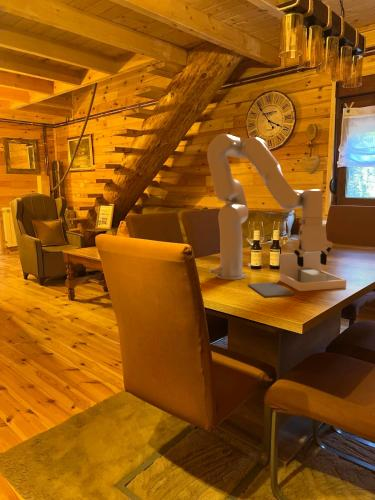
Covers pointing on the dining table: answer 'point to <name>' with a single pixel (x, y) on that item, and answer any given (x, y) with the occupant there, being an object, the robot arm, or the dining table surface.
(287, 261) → the carton
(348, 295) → the dining table surface
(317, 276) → the box
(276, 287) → the slate mat
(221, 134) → the robot arm
